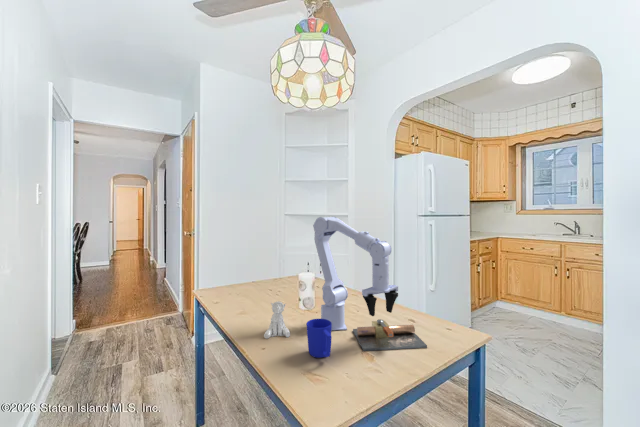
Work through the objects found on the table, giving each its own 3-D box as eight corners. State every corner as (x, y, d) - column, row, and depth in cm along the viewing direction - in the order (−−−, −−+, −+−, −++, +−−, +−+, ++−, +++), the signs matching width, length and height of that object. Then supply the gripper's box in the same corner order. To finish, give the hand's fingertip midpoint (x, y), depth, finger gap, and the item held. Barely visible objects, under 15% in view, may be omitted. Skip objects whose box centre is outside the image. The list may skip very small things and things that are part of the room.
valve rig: (363, 351, 95) (363, 336, 95) (352, 331, 111) (352, 318, 111) (427, 347, 97) (427, 333, 97) (407, 328, 113) (407, 316, 113)
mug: (317, 369, 85) (316, 335, 84) (302, 350, 96) (302, 320, 96) (341, 362, 88) (341, 330, 88) (325, 345, 99) (325, 316, 99)
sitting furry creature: (263, 339, 104) (263, 306, 104) (264, 329, 113) (264, 299, 113) (290, 337, 106) (290, 304, 106) (288, 328, 114) (288, 297, 114)
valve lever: (376, 322, 107) (376, 319, 107) (382, 322, 107) (382, 318, 107) (387, 337, 95) (387, 332, 95) (394, 336, 95) (394, 332, 95)
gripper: (370, 280, 96) (370, 320, 96) (404, 275, 102) (404, 313, 103) (358, 275, 102) (358, 314, 103) (390, 271, 109) (391, 307, 109)
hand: (380, 313), depth 103 cm, fingers open, 7 cm apart
